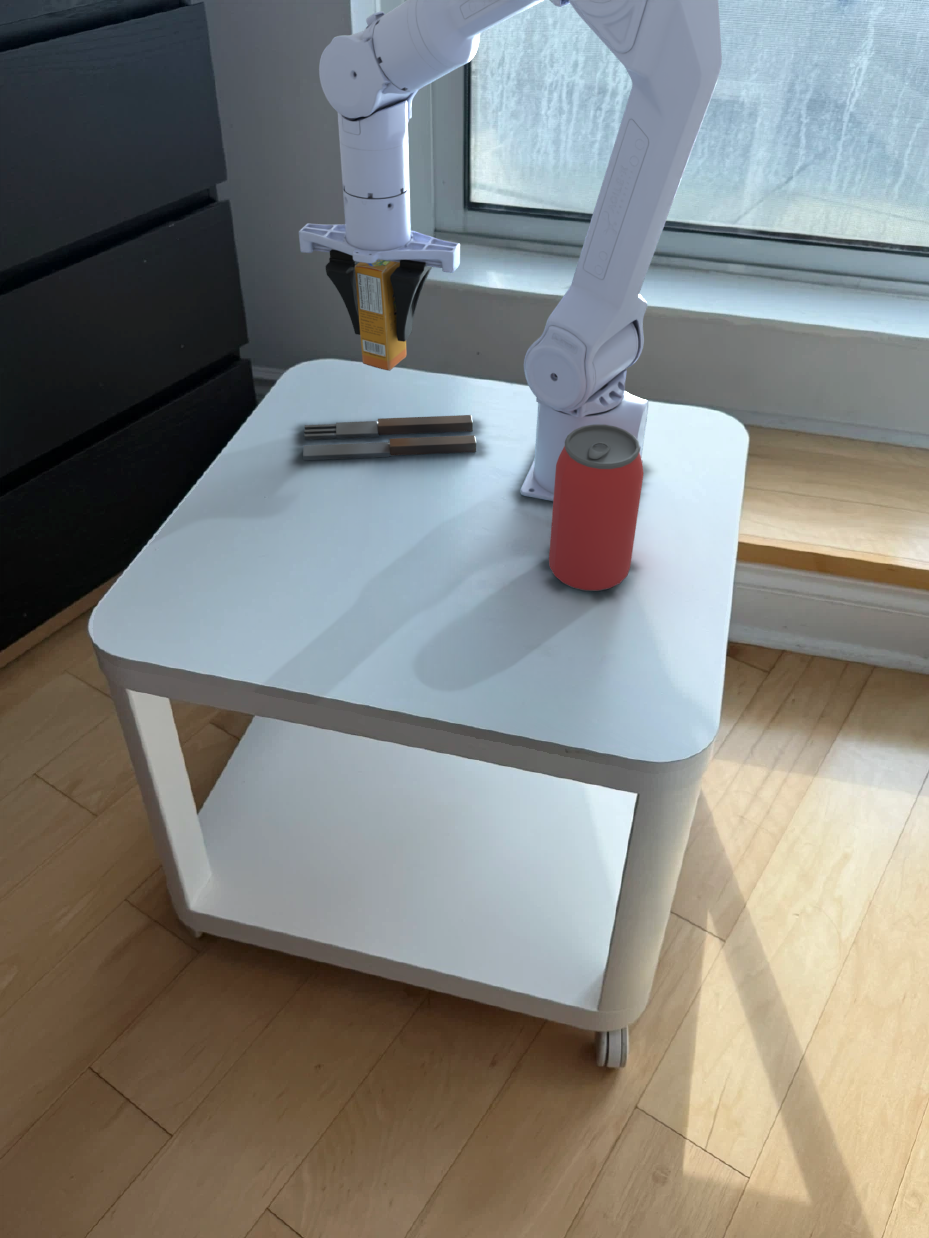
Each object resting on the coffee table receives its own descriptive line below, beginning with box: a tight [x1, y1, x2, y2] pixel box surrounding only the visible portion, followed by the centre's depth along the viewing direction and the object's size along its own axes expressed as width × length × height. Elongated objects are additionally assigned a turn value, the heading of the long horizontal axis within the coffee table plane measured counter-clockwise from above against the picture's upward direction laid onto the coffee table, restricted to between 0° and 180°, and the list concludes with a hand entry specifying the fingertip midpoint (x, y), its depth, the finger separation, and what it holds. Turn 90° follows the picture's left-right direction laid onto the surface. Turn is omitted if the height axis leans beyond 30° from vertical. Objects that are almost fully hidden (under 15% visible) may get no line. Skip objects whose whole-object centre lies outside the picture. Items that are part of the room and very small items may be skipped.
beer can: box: [548, 424, 645, 592], centre depth 83 cm, size 7×7×12 cm
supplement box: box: [355, 260, 407, 372], centre depth 99 cm, size 3×3×10 cm
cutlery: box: [302, 414, 477, 461], centre depth 101 cm, size 16×6×1 cm, turn 95°
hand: (383, 333), depth 101 cm, fingers closed on supplement box, 4 cm apart
